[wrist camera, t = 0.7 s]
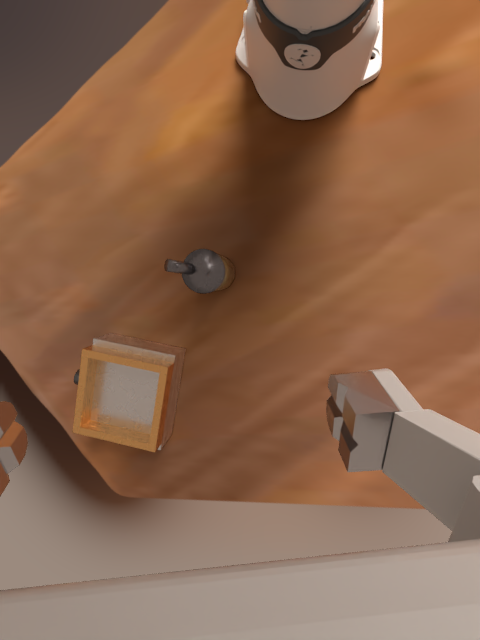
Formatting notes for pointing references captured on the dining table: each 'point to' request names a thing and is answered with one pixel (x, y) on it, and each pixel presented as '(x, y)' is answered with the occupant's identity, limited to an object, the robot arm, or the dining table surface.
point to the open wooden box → (128, 391)
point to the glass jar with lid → (204, 271)
